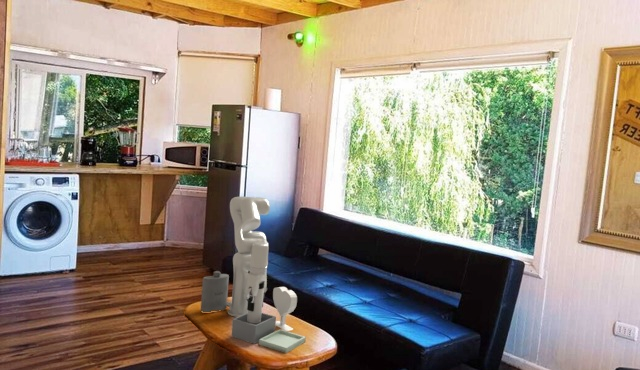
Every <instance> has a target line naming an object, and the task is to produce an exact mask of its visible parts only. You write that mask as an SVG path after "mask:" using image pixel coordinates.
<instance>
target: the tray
mask: <svg viewBox="0 0 640 370" xmlns="http://www.w3.org/2000/svg"><path fill="white" fill-rule="evenodd" d="M306 339H307V337H306V336H304V335H301V334H297V333H295V332H291V331H285V330H283V329H281V328H280V329H277V330H275V332H273V333H271V334H269V335H267V336H265V337H263V338H261V339H259V342H258V345H259V346H262V347H266V348H268V349H272V350H275V351H279V352H281V353H284V354H287V353H289V352H291V351H292V350H294V349H296V348H297V347H299V346H301V345H303V344H304V343H306Z"/></svg>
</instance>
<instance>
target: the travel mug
mask: <svg viewBox="0 0 640 370" xmlns="http://www.w3.org/2000/svg"><path fill="white" fill-rule="evenodd" d="M264 282H265V281H264ZM264 282H263V283H260V284H259V289H258V293H257V296H255V299H254V302H253V303H254V311H253V312H252V311H249V310H248V315H247V323H250V324H254V325H257V324H259V323H261V315H262V313H263V307H262V304H263V305H264V300H263V294H264ZM251 295H253V294H252V293H251ZM251 299H252V297H251Z"/></svg>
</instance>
